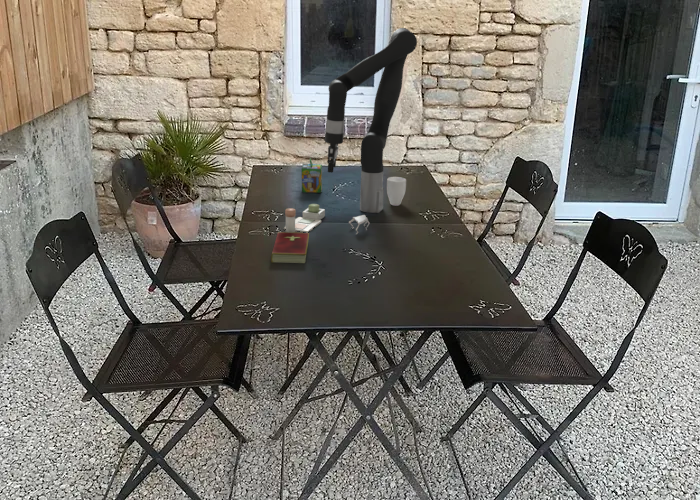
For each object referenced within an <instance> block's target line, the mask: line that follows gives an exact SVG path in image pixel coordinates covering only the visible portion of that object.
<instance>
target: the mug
mask: <svg viewBox="0 0 700 500" xmlns="http://www.w3.org/2000/svg"><path fill="white" fill-rule="evenodd" d="M406 189H407V178H404V177H401V176H389V177H388V178H387V180H386V193H387V197H388V198H387V199H388V200H389V204H390V205H392V206H394V207H395V206H396V207H397V206H401V203H402V200H403V198H404V197H405V194H406Z"/></svg>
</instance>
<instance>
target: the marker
mask: <svg viewBox="0 0 700 500" xmlns="http://www.w3.org/2000/svg"><path fill="white" fill-rule="evenodd" d="M296 212H297V211H296V209H295V208H289V207H288V208H286V209H285V211H284V214H285V215H284V216H285V226H286V230H285V232H295V233H296V231H295V219H296Z"/></svg>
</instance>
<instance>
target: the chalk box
mask: <svg viewBox="0 0 700 500" xmlns="http://www.w3.org/2000/svg"><path fill="white" fill-rule="evenodd" d="M322 190H323V164H316V163H313V162H312V158H311V157H310V158H309V163H303V164H302V166H301V193H320V194H321V193H322Z"/></svg>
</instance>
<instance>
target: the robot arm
mask: <svg viewBox="0 0 700 500" xmlns="http://www.w3.org/2000/svg"><path fill="white" fill-rule="evenodd" d="M417 40H418V39H417V36H416V35H415V34H414V33H413V32H412V31H411V30H409V29H408V28H406V27H405V28H404V27H399V28H397V29H396V30H395V31H394V32H393V33H392V34H391V38H390V41H389V44H388V45H387V46H385V47H384V48H383V49H382V50H380V51H378V52H376V53H375V54H373V55H371V56H368V57H366V58H364V59H363V60H361V61H360V62H358V63H357V64H356V65H354V66H353V67H352V68H350V69H349V70H348V71H347V72H345V73H343V74H341V75H339V76H338V77H336V78H335V79H333V80H332V81H330V83H329V85H328V106H327V110H326V111H327V114H326V122H325V129H324V142H325V143H327V144H329V145H328V147H327V161H326V163H327V164H328V165H327V172H328V173H334V168H336V166H337V165H336V163H337V158H338V154H339V149H340V148H339V145H342V144H343V142H344V136H345V135H344V134H345V133H344V132H345V117H346V115H345V113H346V112H345V111H346V110H345V108H346V103H347V95H348V92H350V91H351V90H352V89H353V88H355V87H358V86H361V84H363V83H365V82H366V81H367V80H369V79H370V78H372V77H373V76H375V74H377V73H379V72H380V71H381V70H383V71H382V74H381V76H380V81H379V83H378V87H377V89H376V93H375V94H376V95H375V98H374V103H373V104H374V105H373V116H372V120H371V124H370V127H369V129H368V131H367V134H366V135H365V136H364V137H363V138H362V140H361V144H360V167H361V169H360V170H361V171H360V173H361V174H360V191H359V193H360V194H359V195H360V196H359V198H360V199H359V210H360V211H361V212H364V213H373V214H376V213H377V214H379V213H380V212H381V211H382V210H384V209H383V208H384V189H385V188H384V187H383V185H384V184H383V183H384V182H383V180H384V162H383V159H384V158H383V156H384V149H385V147H386V144H387V139H388V133H389V128H390V123H391V121H392V118H393V116H394V113H395V110H396V107H397V104H398V102H399V99H400V95H401V91H402V87H403V79H404V78H403V77H404V67H405V63H406V60H407V57H408V55H410V54H411V53H413V52H414V51H415V50H416V48H417V44H418V41H417Z"/></svg>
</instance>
